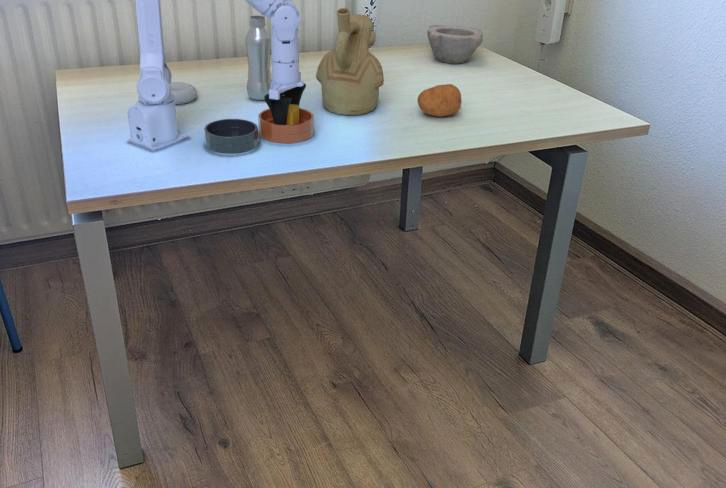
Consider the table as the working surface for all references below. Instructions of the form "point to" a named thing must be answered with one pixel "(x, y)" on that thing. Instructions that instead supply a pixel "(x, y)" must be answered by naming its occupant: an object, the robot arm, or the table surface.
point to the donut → (182, 92)
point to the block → (293, 115)
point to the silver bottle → (258, 58)
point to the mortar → (453, 42)
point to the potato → (440, 100)
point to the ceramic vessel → (351, 68)
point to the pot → (231, 136)
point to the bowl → (286, 128)
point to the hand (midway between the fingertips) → (286, 121)
